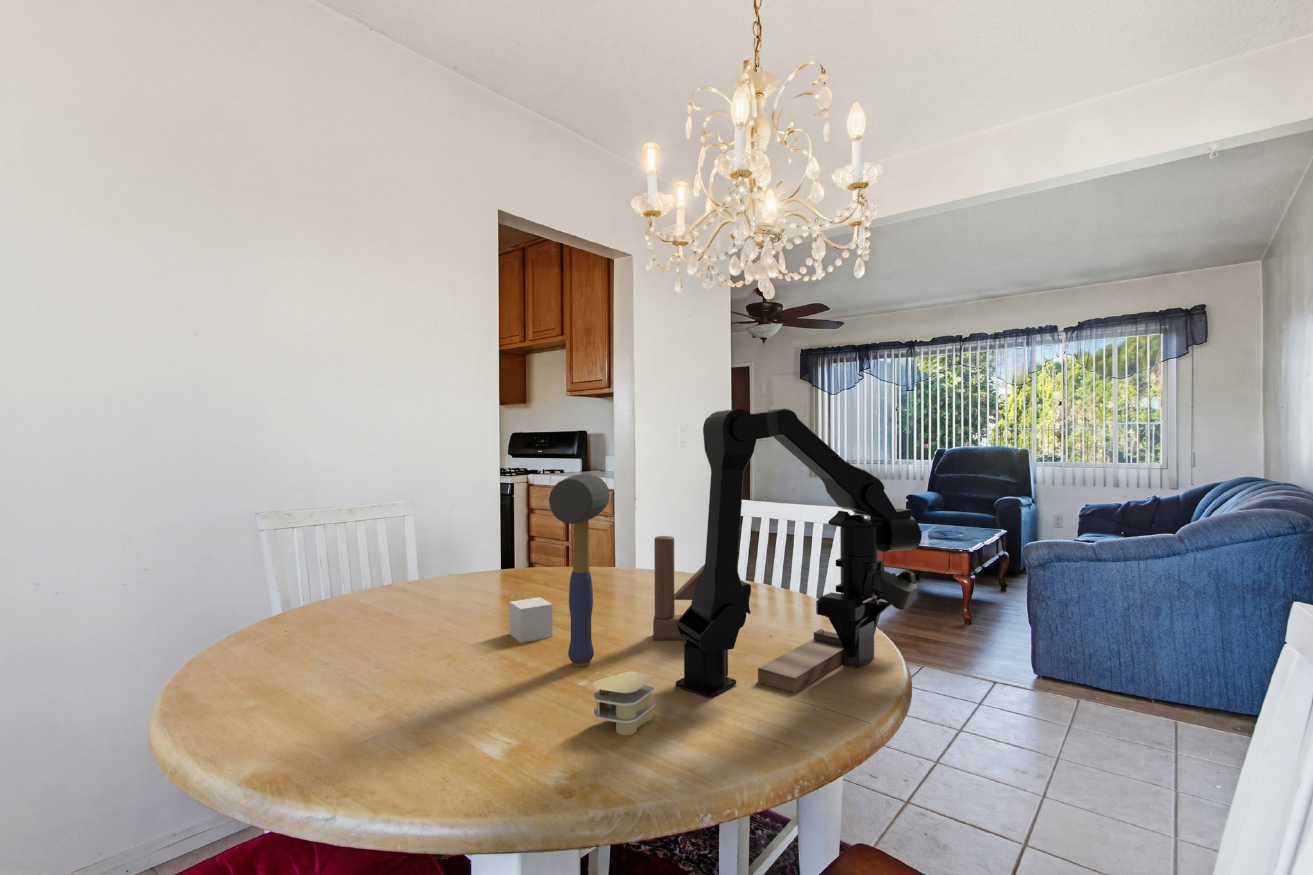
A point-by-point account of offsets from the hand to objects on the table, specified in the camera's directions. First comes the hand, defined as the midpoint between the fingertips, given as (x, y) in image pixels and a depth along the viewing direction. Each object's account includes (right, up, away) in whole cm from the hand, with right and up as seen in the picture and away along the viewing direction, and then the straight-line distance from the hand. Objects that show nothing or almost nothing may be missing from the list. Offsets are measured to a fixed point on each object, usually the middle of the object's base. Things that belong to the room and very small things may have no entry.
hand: (859, 651), depth 97 cm
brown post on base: (-27, -2, +12) cm, 30 cm away
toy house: (-36, -2, -22) cm, 42 cm away
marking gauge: (-2, -2, +2) cm, 3 cm away
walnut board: (-8, -2, -2) cm, 8 cm away
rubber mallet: (-44, -2, -1) cm, 44 cm away
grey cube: (-55, -2, +14) cm, 57 cm away
